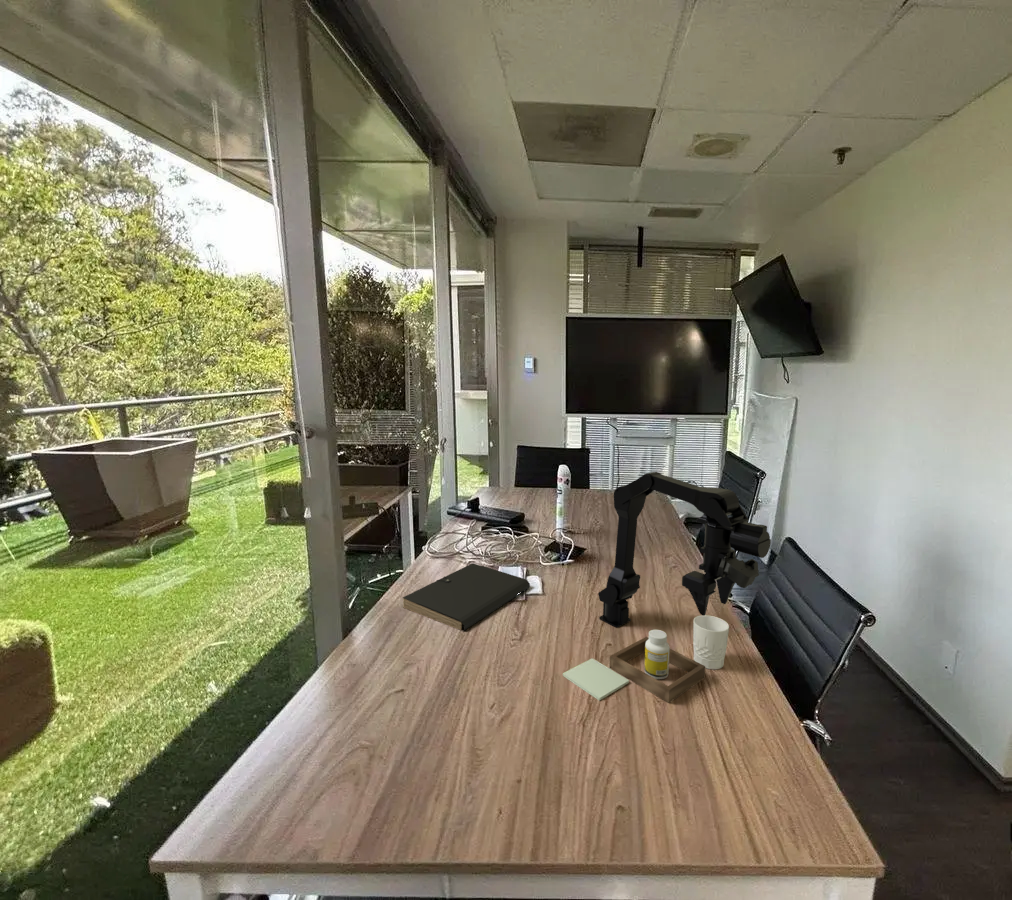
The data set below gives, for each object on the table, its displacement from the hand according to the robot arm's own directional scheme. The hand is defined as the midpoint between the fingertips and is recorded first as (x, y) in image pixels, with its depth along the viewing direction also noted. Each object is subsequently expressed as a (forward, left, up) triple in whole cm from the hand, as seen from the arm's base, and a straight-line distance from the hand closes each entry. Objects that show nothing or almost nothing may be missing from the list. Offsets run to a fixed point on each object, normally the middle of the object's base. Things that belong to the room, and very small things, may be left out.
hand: (713, 609), depth 113 cm
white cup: (-1, +2, -15) cm, 15 cm away
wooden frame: (-6, -12, -15) cm, 20 cm away
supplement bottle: (-6, -12, -15) cm, 20 cm away
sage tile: (-13, -25, -15) cm, 32 cm away
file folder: (-65, -25, -16) cm, 72 cm away
